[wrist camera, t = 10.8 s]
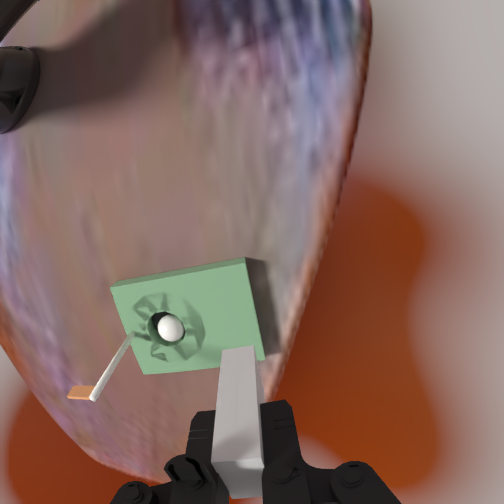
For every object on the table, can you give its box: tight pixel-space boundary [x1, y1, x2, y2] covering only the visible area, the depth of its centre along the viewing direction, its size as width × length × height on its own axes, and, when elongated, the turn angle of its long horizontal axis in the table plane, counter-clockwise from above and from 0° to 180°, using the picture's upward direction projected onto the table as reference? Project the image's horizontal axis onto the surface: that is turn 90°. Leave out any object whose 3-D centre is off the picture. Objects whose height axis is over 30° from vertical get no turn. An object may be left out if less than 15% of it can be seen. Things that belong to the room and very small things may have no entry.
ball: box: [158, 315, 185, 341], centre depth 38 cm, size 4×4×4 cm
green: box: [67, 257, 265, 402], centre depth 31 cm, size 21×14×16 cm
